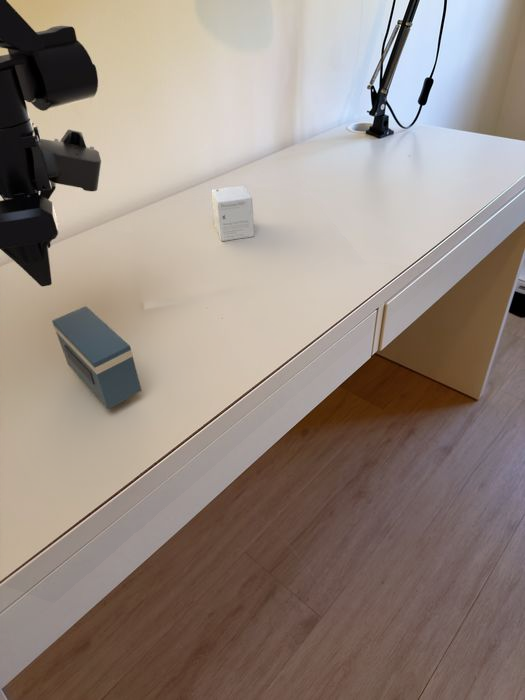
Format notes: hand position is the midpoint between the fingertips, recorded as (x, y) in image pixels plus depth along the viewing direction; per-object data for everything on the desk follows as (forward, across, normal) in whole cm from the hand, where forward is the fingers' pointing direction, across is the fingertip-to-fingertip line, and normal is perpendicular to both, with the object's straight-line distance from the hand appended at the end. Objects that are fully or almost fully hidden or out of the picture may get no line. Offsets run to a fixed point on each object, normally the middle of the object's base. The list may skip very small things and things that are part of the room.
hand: (46, 265), depth 60 cm
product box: (+13, +26, -29) cm, 42 cm away
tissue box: (+10, -5, -3) cm, 12 cm away
